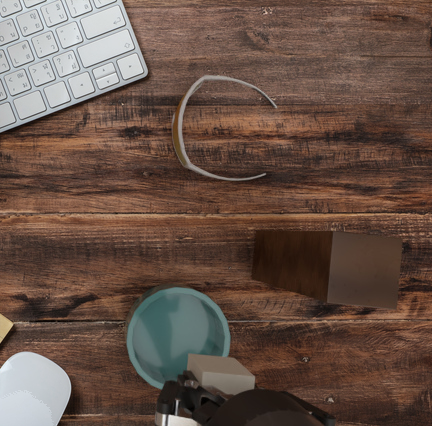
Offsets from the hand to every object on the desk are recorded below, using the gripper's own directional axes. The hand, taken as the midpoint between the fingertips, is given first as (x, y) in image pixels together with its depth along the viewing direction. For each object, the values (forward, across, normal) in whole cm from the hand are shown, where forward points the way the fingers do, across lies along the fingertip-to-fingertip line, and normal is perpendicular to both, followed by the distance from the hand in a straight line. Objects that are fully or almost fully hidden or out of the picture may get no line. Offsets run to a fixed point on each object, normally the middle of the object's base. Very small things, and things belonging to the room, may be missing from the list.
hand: (212, 383), depth 45 cm
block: (+1, 0, 0) cm, 1 cm away
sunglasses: (+23, +4, +29) cm, 37 cm away
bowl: (+23, 0, 0) cm, 23 cm away
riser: (+23, +14, +12) cm, 29 cm away
